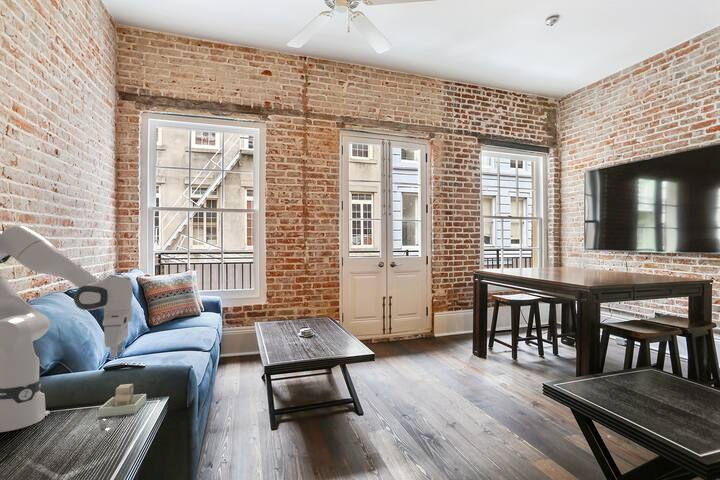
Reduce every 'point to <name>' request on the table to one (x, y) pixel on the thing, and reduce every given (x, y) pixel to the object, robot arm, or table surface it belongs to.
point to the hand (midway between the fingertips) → (116, 354)
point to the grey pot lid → (103, 427)
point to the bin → (121, 410)
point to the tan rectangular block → (124, 395)
